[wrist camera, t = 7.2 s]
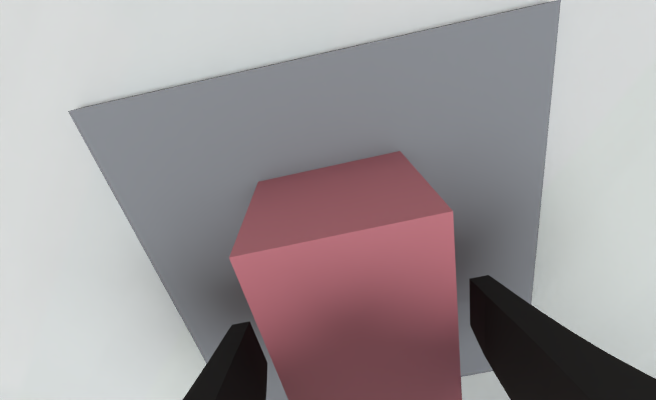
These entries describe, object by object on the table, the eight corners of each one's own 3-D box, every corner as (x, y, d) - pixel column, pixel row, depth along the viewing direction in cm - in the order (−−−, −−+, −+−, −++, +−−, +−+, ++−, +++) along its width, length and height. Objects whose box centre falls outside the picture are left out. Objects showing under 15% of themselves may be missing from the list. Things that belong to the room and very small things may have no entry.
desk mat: (519, 356, 17) (525, 365, 16) (238, 408, 17) (236, 417, 17) (549, 2, 10) (560, -1, 9) (78, 108, 10) (68, 111, 10)
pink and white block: (400, 150, 11) (456, 211, 7) (422, 336, 15) (466, 447, 11) (256, 181, 11) (226, 259, 7) (314, 356, 15) (317, 473, 11)
